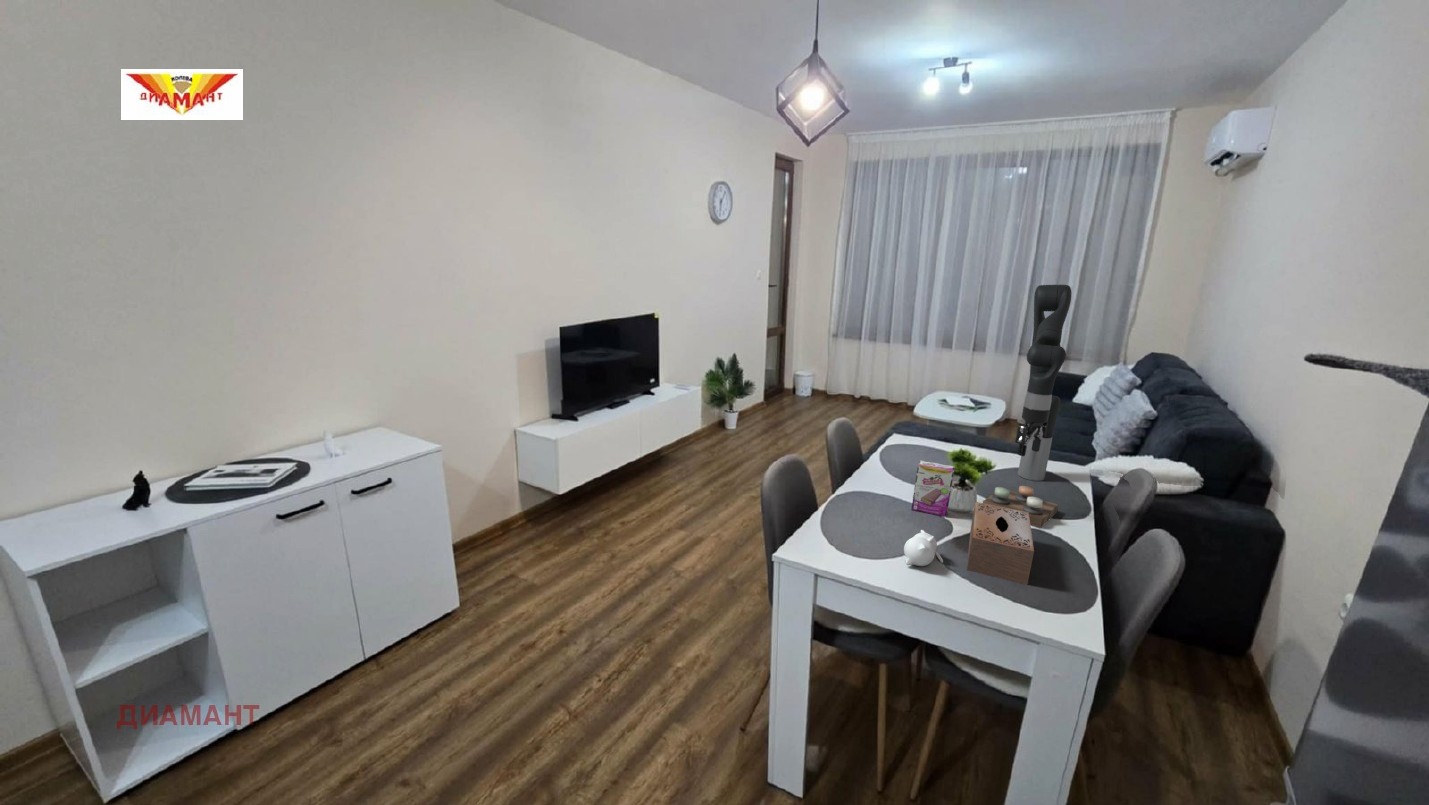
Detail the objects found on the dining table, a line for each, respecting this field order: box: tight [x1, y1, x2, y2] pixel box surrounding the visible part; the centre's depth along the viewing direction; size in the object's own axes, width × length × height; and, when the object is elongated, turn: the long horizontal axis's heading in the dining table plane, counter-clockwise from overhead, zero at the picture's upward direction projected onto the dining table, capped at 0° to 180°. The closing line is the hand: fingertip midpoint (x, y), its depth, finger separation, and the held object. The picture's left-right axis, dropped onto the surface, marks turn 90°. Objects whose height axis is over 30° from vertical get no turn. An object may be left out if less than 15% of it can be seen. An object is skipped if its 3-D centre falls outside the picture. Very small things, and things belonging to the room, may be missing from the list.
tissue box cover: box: [966, 501, 1035, 586], centre depth 158 cm, size 26×14×10 cm, turn 154°
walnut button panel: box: [982, 490, 1059, 529], centre depth 188 cm, size 17×18×4 cm
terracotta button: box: [1017, 485, 1035, 497], centre depth 190 cm, size 4×4×2 cm
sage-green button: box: [993, 486, 1011, 498], centre depth 188 cm, size 4×4×2 cm
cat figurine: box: [903, 529, 944, 567], centre depth 153 cm, size 9×11×12 cm
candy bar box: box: [911, 460, 956, 518], centre depth 184 cm, size 11×5×16 cm, turn 65°
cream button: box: [1026, 496, 1044, 508], centre depth 181 cm, size 4×4×2 cm
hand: (1028, 453), depth 186 cm, fingers open, 8 cm apart
